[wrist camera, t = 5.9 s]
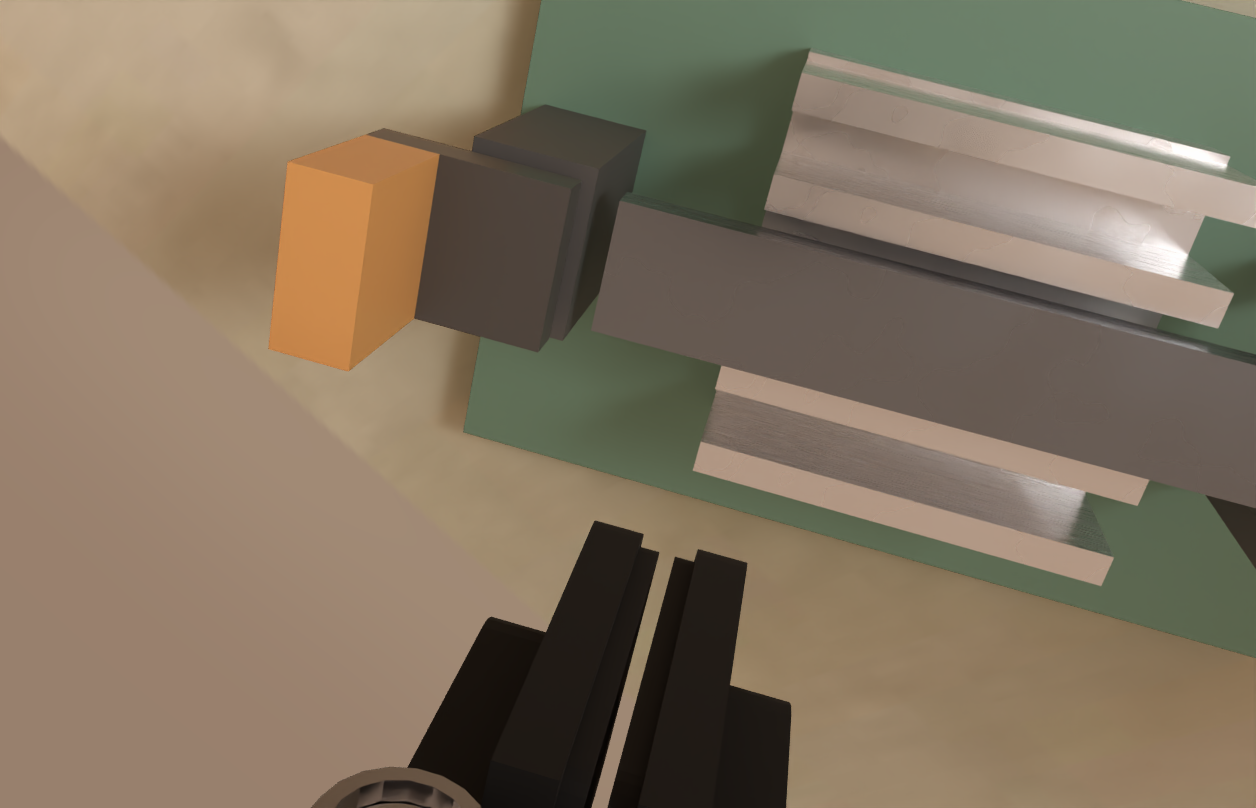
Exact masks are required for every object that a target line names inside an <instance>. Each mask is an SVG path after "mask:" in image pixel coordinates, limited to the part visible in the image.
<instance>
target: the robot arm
mask: <svg viewBox="0 0 1256 808" xmlns="http://www.w3.org/2000/svg"><path fill="white" fill-rule="evenodd" d="M643 535H644V534H642V533H638V532H634V531H631V530H627V529H624V528H620V527H616V526H613V525H609V524H606V523H602V522H598V521H594V523H593V525H592V527H591V530H590V532H589V534H588V537H587V539H586V541H585V544H584V546H583V548H582V551H581V553H580V555H579V557H578V560H577V562H576V564H575V567H574V569H573V571H572V574H571V576H570V578H569V581H568V583H567V585H566V587H565V590H564V592H563V594H562V597H561V599H560V601H559V604H558V606H557V608H556V611H555V613H554V615H553V617H552V620H551V622H550V624H549V627H548V629H547V631H546V632H543V631H539V630H535V629H532V628H529V627H525V626H521V625H518V624H515V623H511V622H508V621H504V620H501V619H497V618H494V617H490V618H488V619H487V621H486V622H485V624H484V625H483V627H482V629H481V631H480V632H479V634H478V636H477V638H476V640H475V642H474V644H473V646H472V647H471V649H470V651H469V653H468V655H467V657H466V659H465V661H464V662H463V664H462V666H461V668H460V670H459V672H458V674H457V676H456V678H455V679H454V681H453V683H452V685H451V687H450V689H449V691H448V692H447V694H446V696H445V698H444V700H443V702H442V704H441V706H440V708H439V709H438V711H437V713H436V715H435V717H434V719H433V721H432V722H431V724H430V726H429V728H428V730H427V732H426V734H425V736H424V737H423V739H422V741H421V743H420V745H419V747H418V749H417V751H416V753H415V754H414V756H413V758H412V760H411V762H410V764H409V766H408V767H407V768H401V767H385V768H380V769H373V770H367V771H362V772H360V773H358V774H355V775H353V776H350V777H348V778H346V779H343V780H341V781H339V782H338V783H337V784H335V785H334V786H333V787H332V788H331V789H329V790H328V791H327V792H326V793H324V794H323V795H322V796H321V797H320V798H319V799H318V800H317V801H316V802H315V804H314V805H313V806H312V807H311V808H591V807H592V803H593V800H594V797H595V793H596V790H597V786H598V783H599V779H600V776H601V772H602V768H603V765H604V761H605V757H606V754H607V750H608V746H609V742H610V739H611V735H612V731H613V727H614V723H615V719H616V716H617V712H618V708H619V704H620V701H621V697H622V693H623V689H624V685H625V682H626V678H627V674H628V670H629V666H630V663H631V659H632V655H633V651H634V647H635V644H636V640H637V636H638V632H639V628H640V625H641V621H642V617H643V613H644V609H645V606H646V602H647V598H648V594H649V590H650V587H651V583H652V579H653V575H654V571H655V568H656V564H657V560H658V556H659V552H656V551H653V550H649V549H645V548H642V547H641V544H642V540H643ZM746 570H747V563H746V562H742V561H739V560H735V559H731V558H728V557H724V556H721V555H717V554H713V553H710V552H706V551H703V550H699V549H698V551H697V554H696V557H695V561H694V562H692V561H688V560H685V559H681V558H678V557H675V559H674V563H673V567H672V570H671V574H670V578H669V581H668V585H667V589H666V593H665V596H664V600H663V604H662V607H661V611H660V615H659V618H658V622H657V626H656V630H655V633H654V637H653V641H652V644H651V648H650V652H649V656H648V659H647V663H646V667H645V670H644V674H643V678H642V681H641V685H640V689H639V693H638V696H637V700H636V704H635V707H634V711H633V715H632V719H631V722H630V726H629V730H628V733H627V737H626V741H625V745H624V748H623V752H622V756H621V759H620V763H619V767H618V770H617V774H616V778H615V782H614V786H613V789H612V793H611V796H610V800H609V805H608V808H786V799H787V781H788V763H789V746H790V728H791V705H790V703H789V702H786V701H783V700H779V699H776V698H773V697H769V696H766V695H762V694H759V693H755V692H752V691H748V690H745V689H741V688H738V687H734V686H731V685H730V680H731V673H732V667H733V660H734V653H735V646H736V639H737V632H738V625H739V618H740V611H741V604H742V598H743V591H744V584H745V577H746Z"/></svg>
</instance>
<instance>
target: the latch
mask: <svg viewBox="0 0 1256 808" xmlns="http://www.w3.org/2000/svg"><path fill="white" fill-rule="evenodd" d="M581 183H582V180H578V179H575V178H571V177H567V176H563V175H559V174H556V173H552V172H548V171H544V170H540V169H537V168H533V167H529V166H525V165H521V164H518V163H514V162H510V161H506V160H502V159H499V158H495V157H491V156H487V155H483V154H480V153H476V152H472V151H468V150H464V149H461V148H457V147H453V146H449V145H445V144H442V143H438V142H434V141H430V140H426V139H423V138H419V137H415V136H411V135H407V134H404V133H400V132H396V131H392V130H388V129H385V128H383V129H381V130H378V131H375V132H372V133H369V134H366V135H363V136H360V137H357V138H354V139H352V140H349V141H346V142H343V143H340V144H337V145H334V146H331V147H328V148H326V149H323V150H320V151H317V152H314V153H311V154H308V155H305V156H302V157H300V158H297V159H294V160H291V161H288V164H287V173H286V183H285V193H284V203H283V212H282V222H281V232H280V242H279V251H278V261H277V271H276V281H275V290H274V300H273V310H272V319H271V329H270V339H269V349H271V350H274V351H278V352H281V353H285V354H288V355H292V356H295V357H299V358H302V359H306V360H309V361H313V362H317V363H320V364H324V365H327V366H331V367H334V368H338V369H341V370H345V371H350V370H351V369H352V368H353V367H355V366H356V365H357V364H358V363H359V362H361V361H362V360H363V359H364V358H366V357H367V356H368V355H369V354H371V353H372V352H373V351H374V350H376V349H377V348H378V347H379V346H381V345H382V344H383V343H384V342H385V341H387V340H388V339H389V338H390V337H392V336H393V335H394V334H395V333H397V332H398V331H399V330H400V329H402V328H403V327H404V326H405V325H406V324H408V323H409V322H410V321H411V320H413V319H414V318H415V319H418V320H422V321H426V322H429V323H433V324H436V325H440V326H444V327H447V328H451V329H454V330H458V331H462V332H465V333H469V334H473V335H476V336H480V337H483V338H487V339H491V340H494V341H498V342H501V343H505V344H509V345H512V346H516V347H519V348H523V349H527V350H530V351H534V352H537V353H538V352H539V351H540V350H541V348H542V347H543V346H544V345H545V343H546V342H547V341H548V340H549V338H550V333H551V328H552V324H553V319H554V314H555V309H556V304H557V299H558V295H559V290H560V285H561V280H562V275H563V270H564V266H565V261H566V256H567V251H568V246H569V241H570V237H571V232H572V227H573V222H574V217H575V212H576V208H577V203H578V198H579V193H580V188H581Z"/></svg>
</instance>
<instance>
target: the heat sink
mask: <svg viewBox="0 0 1256 808" xmlns="http://www.w3.org/2000/svg"><path fill="white" fill-rule="evenodd" d="M791 111H793V114H792V117H791V121H790V124H789V128H788V132H787V135H786V139H785V143H784V146H783V150H782V153H781V156H780V159H779V161H778V164H777V167H776V170H775V172H774V176H773V179H772V183H771V187H770V190H769V194H768V197H767V201H766V205H765V208H764V210H766V212H765V216H764V219H763V223H762V227H765V228H769V229H773V230H777V231H781V232H784V233H788V234H792V235H796V236H800V237H804V238H808V239H811V240H815V241H819V242H823V243H827V244H831V245H835V246H839V247H842V248H846V249H850V250H854V251H858V252H862V253H866V254H869V255H873V256H877V257H881V258H885V259H889V260H893V261H897V262H900V263H904V264H908V265H912V266H916V267H920V268H924V269H927V270H931V271H935V272H939V273H943V274H947V275H951V276H955V277H958V278H962V279H966V280H970V281H974V282H978V283H982V284H985V285H989V286H993V287H997V288H1001V289H1005V290H1009V291H1013V292H1016V293H1020V294H1024V295H1028V296H1032V297H1036V298H1040V299H1043V300H1047V301H1051V302H1055V303H1059V304H1063V305H1067V306H1071V307H1074V308H1078V309H1082V310H1086V311H1090V312H1094V313H1098V314H1102V315H1105V316H1109V317H1113V318H1117V319H1121V320H1125V321H1129V322H1132V323H1136V324H1140V325H1144V326H1148V327H1152V328H1157V326H1158V324H1159V321H1160V319H1161V317H1162V315H1163V314H1164V315H1168V316H1172V317H1176V318H1180V319H1183V320H1187V321H1191V322H1195V323H1199V324H1203V325H1206V326H1210V327H1214V328H1219V326H1220V323H1221V321H1222V319H1223V317H1224V315H1225V312H1226V310H1227V308H1228V306H1229V304H1230V301H1231V299H1232V297H1233V295H1234V293H1233V292H1232V291H1230V290H1229V289H1228V288H1227V287H1226V286H1224V285H1223V284H1222V283H1221V282H1220V281H1218V280H1217V279H1216V278H1215V277H1214V276H1213V275H1211V274H1210V273H1209V272H1208V271H1207V270H1205V269H1204V268H1203V267H1202V266H1201V265H1199V264H1198V263H1197V262H1196V261H1195V260H1194V259H1192V258H1191V257H1190V256H1189V255H1188V254H1189V252H1190V250H1191V247H1192V245H1193V243H1194V240H1195V238H1196V236H1197V233H1198V231H1199V229H1200V226H1201V224H1202V222H1203V219H1204V217H1205V216H1209V217H1213V218H1217V219H1221V220H1225V221H1229V222H1233V223H1237V224H1240V225H1244V226H1248V227H1252V228H1256V180H1255V179H1253V178H1251V177H1249V176H1247V175H1245V174H1243V173H1241V172H1239V171H1237V170H1236V169H1234V168H1232V167H1230V166H1228V165H1227V164H1228V161H1229V159H1230V156H1228V155H1226V154H1224V153H1222V152H1220V151H1218V150H1216V149H1214V148H1212V147H1209V146H1205V145H1201V144H1197V143H1193V142H1189V141H1185V140H1181V139H1177V138H1173V137H1169V136H1165V135H1161V134H1157V133H1153V132H1149V131H1145V130H1140V129H1136V128H1132V127H1128V126H1124V125H1120V124H1116V123H1112V122H1108V121H1104V120H1100V119H1096V118H1092V117H1088V116H1084V115H1080V114H1076V113H1072V112H1068V111H1064V110H1060V109H1056V108H1052V107H1048V106H1044V105H1040V104H1036V103H1032V102H1028V101H1024V100H1020V99H1016V98H1012V97H1008V96H1004V95H1000V94H996V93H992V92H988V91H984V90H980V89H976V88H972V87H968V86H964V85H960V84H956V83H951V82H947V81H943V80H939V79H935V78H931V77H927V76H923V75H919V74H915V73H911V72H907V71H903V70H899V69H895V68H891V67H887V66H883V65H879V64H875V63H871V62H867V61H863V60H859V59H855V58H851V57H847V56H843V55H839V54H835V53H831V52H827V51H823V50H819V49H815V48H811V49H810V52H809V55H808V59H807V62H806V64H805V66H804V68H803V71H802V73H801V77H800V81H799V84H798V88H797V91H796V95H795V99H794V102H793V106H792V110H791ZM715 389H716V390H717V391H716V394H715V397H714V400H713V404H712V407H711V410H710V413H709V416H708V420H707V423H706V426H705V429H704V433H703V436H702V439H701V442H700V446H699V450H698V453H697V457H696V461H695V464H694V468H693V471H696V472H699V473H703V474H707V475H710V476H714V477H717V478H721V479H724V480H728V481H731V482H735V483H738V484H742V485H745V486H749V487H752V488H756V489H760V490H763V491H767V492H770V493H774V494H777V495H781V496H784V497H788V498H791V499H795V500H798V501H802V502H805V503H809V504H813V505H816V506H820V507H823V508H827V509H830V510H834V511H837V512H841V513H844V514H848V515H851V516H855V517H858V518H862V519H866V520H869V521H873V522H876V523H880V524H883V525H887V526H890V527H894V528H897V529H901V530H904V531H908V532H911V533H915V534H919V535H922V536H926V537H929V538H933V539H936V540H940V541H943V542H947V543H950V544H954V545H957V546H961V547H964V548H968V549H972V550H975V551H979V552H982V553H986V554H989V555H993V556H996V557H1000V558H1003V559H1007V560H1010V561H1014V562H1017V563H1021V564H1025V565H1028V566H1032V567H1035V568H1039V569H1042V570H1046V571H1049V572H1053V573H1056V574H1060V575H1063V576H1067V577H1070V578H1074V579H1077V580H1081V581H1085V582H1088V583H1092V584H1095V585H1099V586H1101V585H1102V583H1103V581H1104V579H1105V577H1106V574H1107V572H1108V570H1109V568H1110V566H1111V563H1112V561H1113V559H1114V556H1113V554H1112V552H1111V550H1110V547H1109V545H1108V543H1107V541H1106V539H1105V536H1104V534H1103V532H1102V530H1101V527H1100V525H1099V523H1098V521H1097V519H1096V516H1095V514H1094V512H1093V510H1092V508H1091V505H1090V503H1089V501H1088V499H1087V496H1086V494H1085V493H1086V492H1089V493H1092V494H1096V495H1100V496H1103V497H1107V498H1111V499H1114V500H1118V501H1121V502H1125V503H1129V504H1132V505H1136V506H1138V504H1139V502H1140V499H1141V497H1142V495H1143V493H1144V491H1145V488H1146V486H1147V484H1148V482H1149V480H1148V479H1144V478H1140V477H1137V476H1133V475H1129V474H1125V473H1122V472H1118V471H1114V470H1110V469H1107V468H1103V467H1099V466H1096V465H1092V464H1088V463H1084V462H1081V461H1077V460H1073V459H1069V458H1066V457H1062V456H1058V455H1054V454H1051V453H1047V452H1043V451H1039V450H1036V449H1032V448H1028V447H1024V446H1021V445H1017V444H1013V443H1010V442H1006V441H1002V440H998V439H995V438H991V437H987V436H983V435H980V434H976V433H972V432H968V431H965V430H961V429H957V428H953V427H950V426H946V425H942V424H938V423H935V422H931V421H927V420H924V419H920V418H916V417H912V416H909V415H905V414H901V413H897V412H894V411H890V410H886V409H882V408H879V407H875V406H871V405H867V404H864V403H860V402H856V401H852V400H849V399H845V398H841V397H837V396H834V395H830V394H826V393H823V392H819V391H815V390H811V389H808V388H804V387H800V386H796V385H793V384H789V383H785V382H781V381H778V380H774V379H770V378H766V377H763V376H759V375H755V374H751V373H748V372H744V371H740V370H737V369H733V368H729V367H725V366H721V369H720V373H719V377H718V380H717V384H716V387H715Z"/></svg>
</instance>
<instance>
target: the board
mask: <svg viewBox="0 0 1256 808" xmlns="http://www.w3.org/2000/svg"><path fill="white" fill-rule="evenodd" d="M811 48H815V49H819V50H823V51H827V52H831V53H835V54H839V55H843V56H847V57H851V58H855V59H859V60H863V61H867V62H871V63H875V64H879V65H883V66H887V67H891V68H895V69H899V70H903V71H907V72H911V73H915V74H919V75H923V76H927V77H931V78H935V79H939V80H943V81H947V82H951V83H956V84H960V85H964V86H968V87H972V88H976V89H980V90H984V91H988V92H992V93H996V94H1000V95H1004V96H1008V97H1012V98H1016V99H1020V100H1024V101H1028V102H1032V103H1036V104H1040V105H1044V106H1048V107H1052V108H1056V109H1060V110H1064V111H1068V112H1072V113H1076V114H1080V115H1084V116H1088V117H1092V118H1096V119H1100V120H1104V121H1108V122H1112V123H1116V124H1120V125H1124V126H1128V127H1132V128H1136V129H1140V130H1145V131H1149V132H1153V133H1157V134H1161V135H1165V136H1169V137H1173V138H1177V139H1181V140H1185V141H1189V142H1193V143H1197V144H1201V145H1205V146H1209V147H1212V148H1214V149H1216V150H1218V151H1220V152H1222V153H1224V154H1226V155H1228V156H1230V159H1229V161H1228V164H1227V165H1228V166H1230V167H1232V168H1234V169H1236V170H1237V171H1239V172H1241V173H1243V174H1245V175H1247V176H1249V177H1251V178H1253V179H1255V180H1256V18H1253V17H1249V16H1244V15H1240V14H1236V13H1232V12H1228V11H1223V10H1219V9H1215V8H1211V7H1207V6H1202V5H1198V4H1194V3H1190V2H1186V1H1181V0H541V5H540V11H539V16H538V22H537V28H536V33H535V39H534V44H533V50H532V55H531V61H530V66H529V72H528V77H527V83H526V88H525V94H524V99H523V105H522V110H521V115H520V116H518V117H516V118H514V119H511V120H509V121H507V122H505V123H503V124H500V125H498V126H496V127H494V128H492V129H489V130H487V131H485V132H483V133H480V134H478V135H476V136H474V142H473V148H472V152H476V153H480V154H483V155H487V156H491V157H495V158H499V159H502V160H506V161H510V162H514V163H518V164H521V165H525V166H529V167H533V168H537V169H540V170H544V171H548V172H552V173H556V174H559V175H563V176H567V177H571V178H575V179H578V180H582V183H581V188H580V193H579V198H578V203H577V208H576V212H575V217H574V222H573V227H572V232H571V237H570V241H569V246H568V251H567V256H566V261H565V266H564V270H563V275H562V280H561V285H560V290H559V295H558V299H557V304H556V309H555V314H554V319H553V324H552V328H551V333H550V338H549V340H548V341H547V342H546V343H545V345H544V346H543V347H542V348H541V350H540V351H539V352H538V353H537V352H534V351H530V350H527V349H523V348H519V347H516V346H512V345H509V344H505V343H501V342H498V341H494V340H491V339H487V338H483V337H480V342H479V348H478V353H477V359H476V364H475V370H474V375H473V381H472V386H471V392H470V398H469V403H468V409H467V414H466V420H465V425H464V431H463V432H465V433H468V434H472V435H475V436H479V437H482V438H486V439H489V440H493V441H496V442H500V443H503V444H507V445H510V446H514V447H517V448H521V449H524V450H528V451H531V452H535V453H538V454H542V455H545V456H549V457H552V458H556V459H559V460H563V461H566V462H570V463H573V464H577V465H580V466H584V467H587V468H591V469H594V470H598V471H601V472H605V473H608V474H612V475H615V476H619V477H622V478H626V479H629V480H633V481H636V482H640V483H643V484H647V485H650V486H654V487H657V488H661V489H664V490H668V491H671V492H675V493H679V494H682V495H686V496H689V497H693V498H696V499H700V500H703V501H707V502H710V503H714V504H717V505H721V506H724V507H728V508H731V509H735V510H738V511H742V512H745V513H749V514H752V515H756V516H759V517H763V518H766V519H770V520H773V521H777V522H780V523H784V524H787V525H791V526H794V527H798V528H801V529H805V530H808V531H812V532H815V533H819V534H822V535H826V536H829V537H833V538H836V539H840V540H843V541H847V542H850V543H854V544H857V545H861V546H864V547H868V548H871V549H875V550H878V551H882V552H885V553H889V554H892V555H896V556H899V557H903V558H907V559H910V560H914V561H917V562H921V563H924V564H928V565H931V566H935V567H938V568H942V569H945V570H949V571H952V572H956V573H959V574H963V575H966V576H970V577H973V578H977V579H980V580H984V581H987V582H991V583H994V584H998V585H1001V586H1005V587H1008V588H1012V589H1015V590H1019V591H1022V592H1026V593H1029V594H1033V595H1036V596H1040V597H1043V598H1047V599H1050V600H1054V601H1057V602H1061V603H1064V604H1068V605H1071V606H1075V607H1078V608H1082V609H1085V610H1089V611H1092V612H1096V613H1099V614H1103V615H1106V616H1110V617H1113V618H1117V619H1120V620H1124V621H1128V622H1131V623H1135V624H1138V625H1142V626H1145V627H1149V628H1152V629H1156V630H1159V631H1163V632H1166V633H1170V634H1173V635H1177V636H1180V637H1184V638H1187V639H1191V640H1194V641H1198V642H1201V643H1205V644H1208V645H1212V646H1215V647H1219V648H1222V649H1226V650H1229V651H1233V652H1236V653H1240V654H1243V655H1247V656H1250V657H1254V658H1256V508H1253V507H1249V506H1245V505H1241V504H1238V503H1234V502H1230V501H1226V500H1223V499H1219V498H1215V497H1211V496H1208V495H1204V494H1200V493H1196V492H1193V491H1189V490H1185V489H1182V488H1178V487H1174V486H1170V485H1167V484H1163V483H1159V482H1155V481H1152V480H1149V482H1148V484H1147V486H1146V488H1145V491H1144V493H1143V495H1142V497H1141V499H1140V502H1139V504H1138V506H1136V505H1132V504H1129V503H1125V502H1121V501H1118V500H1114V499H1111V498H1107V497H1103V496H1100V495H1096V494H1092V493H1089V492H1086V493H1085V494H1086V496H1087V499H1088V501H1089V503H1090V505H1091V508H1092V510H1093V512H1094V514H1095V516H1096V519H1097V521H1098V523H1099V525H1100V527H1101V530H1102V532H1103V534H1104V536H1105V539H1106V541H1107V543H1108V545H1109V547H1110V550H1111V552H1112V554H1113V556H1114V559H1113V561H1112V563H1111V566H1110V568H1109V570H1108V572H1107V574H1106V577H1105V579H1104V581H1103V583H1102V585H1101V586H1099V585H1095V584H1092V583H1088V582H1085V581H1081V580H1077V579H1074V578H1070V577H1067V576H1063V575H1060V574H1056V573H1053V572H1049V571H1046V570H1042V569H1039V568H1035V567H1032V566H1028V565H1025V564H1021V563H1017V562H1014V561H1010V560H1007V559H1003V558H1000V557H996V556H993V555H989V554H986V553H982V552H979V551H975V550H972V549H968V548H964V547H961V546H957V545H954V544H950V543H947V542H943V541H940V540H936V539H933V538H929V537H926V536H922V535H919V534H915V533H911V532H908V531H904V530H901V529H897V528H894V527H890V526H887V525H883V524H880V523H876V522H873V521H869V520H866V519H862V518H858V517H855V516H851V515H848V514H844V513H841V512H837V511H834V510H830V509H827V508H823V507H820V506H816V505H813V504H809V503H805V502H802V501H798V500H795V499H791V498H788V497H784V496H781V495H777V494H774V493H770V492H767V491H763V490H760V489H756V488H752V487H749V486H745V485H742V484H738V483H735V482H731V481H728V480H724V479H721V478H717V477H714V476H710V475H707V474H703V473H699V472H696V471H693V468H694V464H695V461H696V457H697V453H698V450H699V446H700V442H701V439H702V436H703V433H704V429H705V426H706V423H707V420H708V416H709V413H710V410H711V407H712V404H713V400H714V397H715V394H716V391H717V390H716V389H715V387H716V384H717V380H718V377H719V373H720V369H721V366H722V365H718V364H714V363H710V362H707V361H703V360H699V359H695V358H692V357H688V356H684V355H680V354H677V353H673V352H669V351H665V350H662V349H658V348H654V347H651V346H647V345H643V344H639V343H636V342H632V341H628V340H624V339H621V338H617V337H613V336H609V335H606V334H602V333H598V332H594V331H591V328H592V324H593V319H594V315H595V310H596V306H597V301H598V297H599V292H600V288H601V283H602V278H603V274H604V269H605V265H606V260H607V256H608V251H609V247H610V242H611V238H612V233H613V229H614V224H615V220H616V215H617V211H618V206H619V202H620V200H621V199H622V197H623V196H624V195H625V194H626V193H627V192H630V193H634V194H637V195H641V196H645V197H649V198H653V199H657V200H661V201H664V202H668V203H672V204H676V205H680V206H684V207H688V208H692V209H695V210H699V211H703V212H707V213H711V214H715V215H719V216H722V217H726V218H730V219H734V220H738V221H742V222H746V223H750V224H753V225H757V226H761V227H762V223H763V219H764V216H765V212H766V210H764V208H765V205H766V201H767V197H768V194H769V190H770V187H771V183H772V179H773V176H774V172H775V170H776V167H777V164H778V161H779V159H780V156H781V153H782V150H783V146H784V143H785V139H786V135H787V132H788V128H789V124H790V121H791V117H792V114H793V111H791V110H792V106H793V102H794V99H795V95H796V91H797V88H798V84H799V81H800V77H801V73H802V71H803V68H804V66H805V64H806V62H807V59H808V55H809V52H810V49H811ZM1188 255H1189V256H1190V257H1191V258H1192V259H1194V260H1195V261H1196V262H1197V263H1198V264H1199V265H1201V266H1202V267H1203V268H1204V269H1205V270H1207V271H1208V272H1209V273H1210V274H1211V275H1213V276H1214V277H1215V278H1216V279H1217V280H1218V281H1220V282H1221V283H1222V284H1223V285H1224V286H1226V287H1227V288H1228V289H1229V290H1230V291H1232V292H1233V293H1234V295H1233V297H1232V299H1231V301H1230V304H1229V306H1228V308H1227V310H1226V312H1225V315H1224V317H1223V319H1222V321H1221V323H1220V326H1219V328H1214V327H1210V326H1206V325H1203V324H1199V323H1195V322H1191V321H1187V320H1183V319H1180V318H1176V317H1172V316H1168V315H1164V314H1163V315H1162V317H1161V319H1160V321H1159V324H1158V326H1157V328H1156V329H1160V330H1163V331H1167V332H1171V333H1175V334H1179V335H1183V336H1187V337H1190V338H1194V339H1198V340H1202V341H1206V342H1210V343H1214V344H1218V345H1221V346H1225V347H1229V348H1233V349H1237V350H1241V351H1245V352H1248V353H1252V354H1256V228H1252V227H1248V226H1244V225H1240V224H1237V223H1233V222H1229V221H1225V220H1221V219H1217V218H1213V217H1209V216H1205V217H1204V219H1203V222H1202V224H1201V226H1200V229H1199V231H1198V233H1197V236H1196V238H1195V240H1194V243H1193V245H1192V247H1191V250H1190V252H1189V254H1188Z"/></svg>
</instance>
